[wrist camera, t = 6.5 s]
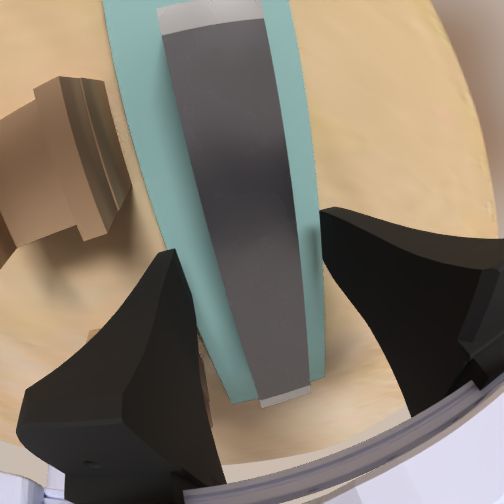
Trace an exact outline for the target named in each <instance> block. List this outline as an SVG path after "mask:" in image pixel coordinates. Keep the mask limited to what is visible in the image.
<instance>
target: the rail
mask: <svg viewBox="0 0 504 504" xmlns="http://www.w3.org/2000/svg"><path fill="white" fill-rule="evenodd" d="M156 10H157V16H158V21H159V26H160V31H161V36H162V39H163V44H164V48H165V53H166V58H167V63H168V67H169V72H170V77H171V81H172V86H173V90H174V95H175V99H176V103H177V108H178V112H179V116H180V121H181V125H182V129H183V133H184V137H185V142H186V146H187V150H188V154H189V158H190V162H191V166H192V170H193V174H194V178H195V182H196V185H197V189H198V193H199V197H200V201H201V205H202V208H203V212H204V216H205V220H206V223H207V227H208V231H209V234H210V238H211V242H212V245H213V249H214V252H215V256H216V260H217V263H218V267H219V270H220V274H221V277H222V281H223V284H224V287H225V291H226V294H227V298H228V301H229V304H230V308H231V311H232V314H233V318H234V321H235V324H236V328H237V331H238V334H239V337H240V341H241V344H242V347H243V350H244V353H245V357H246V360H247V363H248V366H249V369H250V372H251V376H252V379H253V382H254V385H255V388H256V391H257V394H258V397H259V401H260V404H261V407H262V408H264V407H268V406H271V405H275V404H278V403H281V402H285V401H288V400H291V399H294V398H297V397H300V396H303V395H306V394H309V393H311V388H310V374H309V357H308V342H307V328H306V315H305V302H304V291H303V280H302V269H301V259H300V250H299V240H298V231H297V222H296V214H295V206H294V197H293V190H292V182H291V174H290V167H289V160H288V153H287V146H286V139H285V133H284V126H283V120H282V113H281V107H280V101H279V95H278V89H277V83H276V78H275V72H274V67H273V61H272V56H271V51H270V45H269V40H268V35H267V30H266V25H265V20H264V13H263V9H262V4H261V0H193V1H188V2H183V3H178V4H174V5H169V6H165V7H161V8H157V9H156Z"/></svg>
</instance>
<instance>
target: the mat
mask: <svg viewBox="0 0 504 504" xmlns="http://www.w3.org/2000/svg"><path fill="white" fill-rule="evenodd" d="M188 1H193V0H103V7H104V13H105V19H106V25H107V31H108V36H109V42H110V47H111V52H112V57H113V62H114V67H115V71H116V76H117V81H118V85H119V89H120V94H121V98H122V102H123V106H124V110H125V114H126V118H127V122H128V125H129V129H130V133H131V137H132V140H133V144H134V148H135V151H136V155H137V158H138V161H139V165H140V168H141V172H142V175H143V178H144V181H145V185H146V188H147V191H148V194H149V197H150V200H151V204H152V207H153V210H154V213H155V216H156V219H157V222H158V225H159V228H160V230H161V233H162V236H163V239H164V242H165V245H166V248H167V250H170V249H174V248H175V249H176V252H177V255H178V257H179V260H180V263H181V266H182V269H183V271H184V274H185V277H186V280H187V282H188V285H189V288H190V291H191V293H192V297H193V303H194V308H195V314H196V322H197V327H198V330H199V332H200V334H201V337H202V339H203V341H204V344H205V346H206V348H207V351H208V353H209V355H210V357H211V360H212V362H213V364H214V366H215V368H216V371H217V373H218V375H219V377H220V379H221V381H222V384H223V386H224V388H225V390H226V392H227V394H228V396H229V398H230V400H231V402H232V405H233V404H237V403H241V402H245V401H249V400H253V399H256V398H259V397H258V394H257V391H256V388H255V385H254V382H253V379H252V376H251V372H250V369H249V366H248V363H247V360H246V357H245V353H244V350H243V347H242V344H241V341H240V337H239V334H238V331H237V328H236V324H235V321H234V318H233V314H232V311H231V308H230V304H229V301H228V298H227V294H226V291H225V287H224V284H223V281H222V277H221V274H220V270H219V267H218V263H217V260H216V256H215V252H214V249H213V245H212V242H211V238H210V234H209V231H208V227H207V223H206V220H205V216H204V212H203V208H202V205H201V201H200V197H199V193H198V189H197V185H196V182H195V178H194V174H193V170H192V166H191V162H190V158H189V154H188V150H187V146H186V142H185V137H184V133H183V129H182V125H181V121H180V116H179V112H178V108H177V103H176V99H175V95H174V90H173V86H172V81H171V77H170V72H169V67H168V63H167V58H166V53H165V48H164V44H163V39H162V36H161V31H160V26H159V21H158V16H157V10H156V9H157V8H161V7H165V6H169V5H174V4H178V3H183V2H188ZM261 4H262V9H263V13H264V20H265V25H266V30H267V35H268V40H269V45H270V51H271V56H272V61H273V67H274V72H275V78H276V83H277V89H278V95H279V101H280V107H281V113H282V120H283V126H284V133H285V139H286V146H287V153H288V160H289V167H290V174H291V182H292V190H293V197H294V206H295V214H296V222H297V231H298V240H299V250H300V259H301V269H302V280H303V291H304V302H305V315H306V328H307V342H308V357H309V374H310V382H311V381H314V380H317V379H320V378H323V377H324V375H325V325H324V286H323V263H322V247H321V231H320V218H319V203H318V192H317V181H316V171H315V161H314V152H313V144H312V135H311V127H310V120H309V112H308V105H307V98H306V92H305V85H304V79H303V73H302V67H301V61H300V55H299V50H298V44H297V39H296V34H295V29H294V24H293V19H292V14H291V9H290V5H289V0H261Z"/></svg>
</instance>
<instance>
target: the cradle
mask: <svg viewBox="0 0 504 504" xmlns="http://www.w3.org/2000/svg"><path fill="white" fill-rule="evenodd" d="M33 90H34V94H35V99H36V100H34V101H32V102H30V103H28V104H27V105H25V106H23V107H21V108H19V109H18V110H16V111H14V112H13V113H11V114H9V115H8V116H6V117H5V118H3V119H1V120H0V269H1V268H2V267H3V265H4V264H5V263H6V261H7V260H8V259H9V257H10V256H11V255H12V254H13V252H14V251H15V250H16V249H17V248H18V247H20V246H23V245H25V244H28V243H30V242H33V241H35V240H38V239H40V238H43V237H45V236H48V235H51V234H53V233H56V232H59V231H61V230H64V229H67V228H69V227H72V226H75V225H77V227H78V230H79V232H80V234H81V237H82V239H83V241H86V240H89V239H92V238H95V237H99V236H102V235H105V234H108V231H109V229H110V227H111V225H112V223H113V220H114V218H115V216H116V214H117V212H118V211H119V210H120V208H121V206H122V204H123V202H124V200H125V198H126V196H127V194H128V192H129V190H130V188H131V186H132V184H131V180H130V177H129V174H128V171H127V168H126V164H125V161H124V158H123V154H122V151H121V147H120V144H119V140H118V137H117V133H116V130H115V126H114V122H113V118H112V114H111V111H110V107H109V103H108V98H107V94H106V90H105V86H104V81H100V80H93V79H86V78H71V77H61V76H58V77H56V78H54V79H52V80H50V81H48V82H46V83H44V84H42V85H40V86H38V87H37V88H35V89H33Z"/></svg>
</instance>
